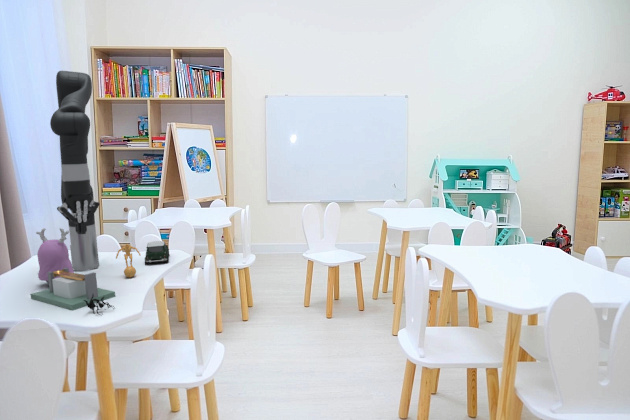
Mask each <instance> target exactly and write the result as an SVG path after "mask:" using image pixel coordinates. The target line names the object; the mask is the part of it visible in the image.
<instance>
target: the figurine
mask: <svg viewBox="0 0 630 420" xmlns="http://www.w3.org/2000/svg"><path fill="white" fill-rule="evenodd" d="M131 249H133V250H135V251H136V252H137V254H138V255H139V256H141V253H140V251H139V249H138V248H137V247H134V246H132V245H129V244H128V243H126V244H125V245H124V246H122V248H120V249H118V250H117V253H116V256H115V259H116V260H117V259H118V256H119V254H120V252H121V251H123V250H124V252H125V253H124V255H123V256H124V260H125V264H126V267H125V269H124V271H123V273H124V276H125V277H127V278H133V277H134V276H135V275H136V273H137V270H136V268H135V267H134V266H133V264H132V263H133V253H132V252H131ZM128 258H129V259H130V262H129V263H130V266H129V264H128Z"/></svg>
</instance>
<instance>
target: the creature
mask: <svg viewBox="0 0 630 420" xmlns="http://www.w3.org/2000/svg"><path fill="white" fill-rule="evenodd" d="M93 296H94V294H93ZM93 296H92V298H91V300H90V302H89V303H88V302H87V301H86V300H83V301H85V302H86V304H87V308H89V309H90V310H92V312H93V314H94V315H95V314H98V315H99V316H102V315H103V314H101V312H100V313H99V312H98V311H100V309H103V308H104V307H105V306H107V308H106V309H105V308H104V309H103V310H104V311H105V310H110V309H109V308H110V307H111V308H112V309H113V310H115V309H116V308H115V306H114V305H111V304H110V302H104V300H103V298H104V297H103V298H101V301H100V300H98V299H93ZM92 299H93V300H92ZM93 301H96V303H94V302H93ZM95 308H97V309H96V310H95ZM99 308H100V309H99ZM95 311H96V312H95Z"/></svg>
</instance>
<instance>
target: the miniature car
mask: <svg viewBox="0 0 630 420" xmlns="http://www.w3.org/2000/svg"><path fill="white" fill-rule="evenodd" d="M169 257H170V249H169V245H167V244H166V242H165V240H161V241H160V240H155V241H148V243H147V245H146V251H145V257H144V265H145V266H146V264H147V265H149V263H152V262H164V261H165V262H164V263H166V264H167V263H169Z"/></svg>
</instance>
